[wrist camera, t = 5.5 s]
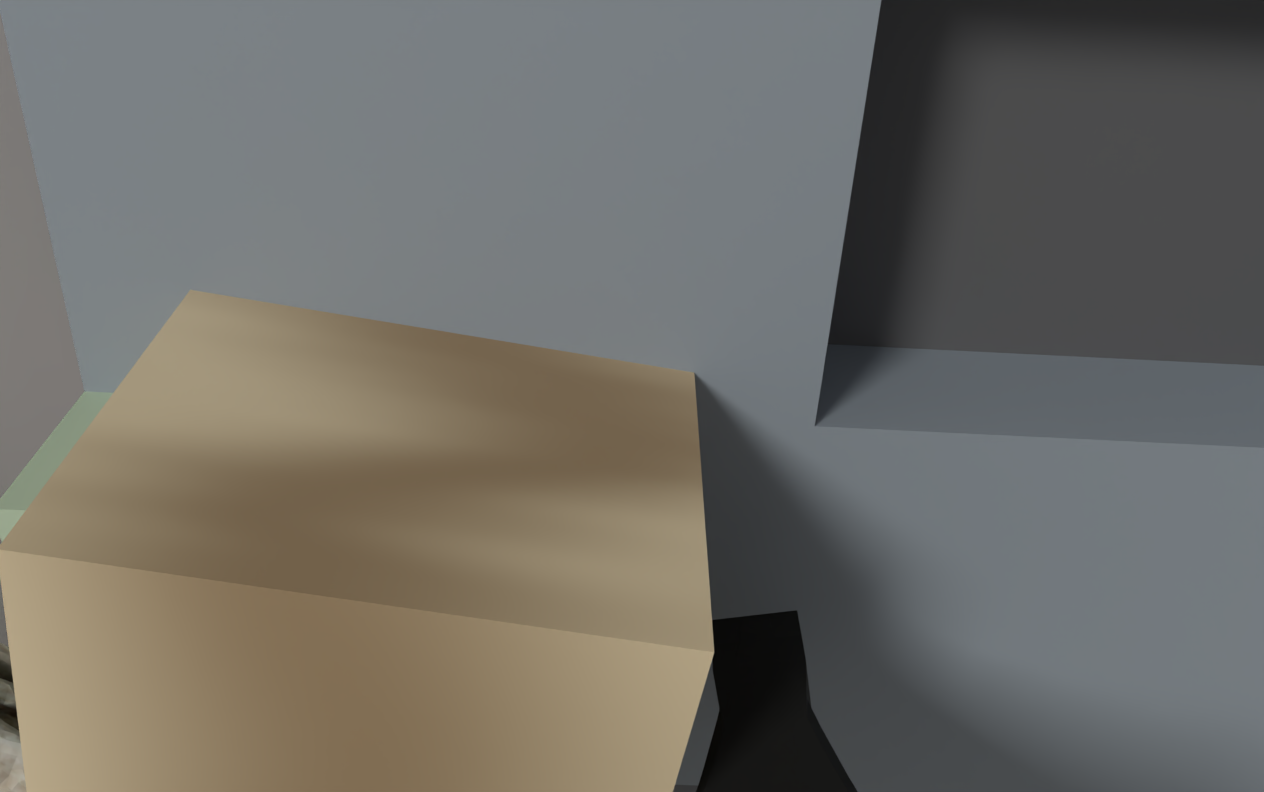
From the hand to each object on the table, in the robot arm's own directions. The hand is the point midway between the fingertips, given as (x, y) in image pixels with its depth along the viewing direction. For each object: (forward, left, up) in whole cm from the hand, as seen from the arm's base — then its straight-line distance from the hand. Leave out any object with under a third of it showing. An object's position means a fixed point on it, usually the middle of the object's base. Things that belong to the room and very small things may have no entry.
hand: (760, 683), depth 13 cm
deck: (0, 0, -3) cm, 3 cm away
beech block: (+4, -1, -1) cm, 4 cm away
